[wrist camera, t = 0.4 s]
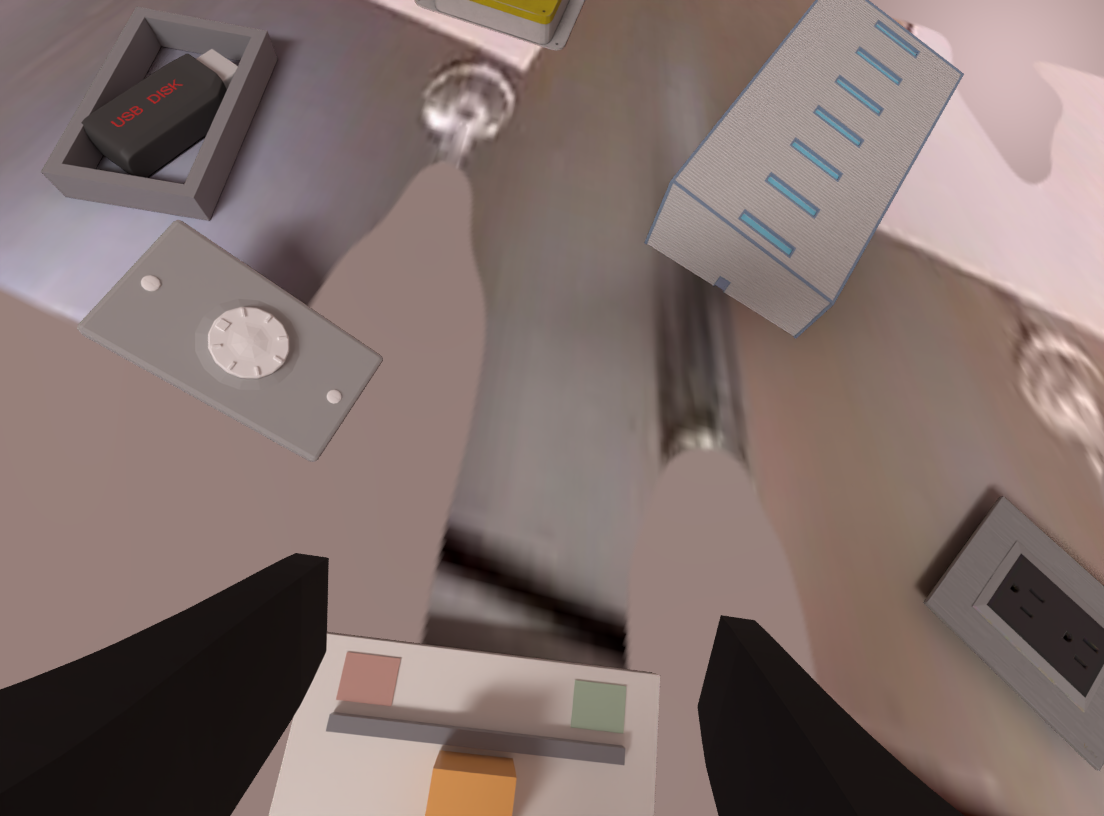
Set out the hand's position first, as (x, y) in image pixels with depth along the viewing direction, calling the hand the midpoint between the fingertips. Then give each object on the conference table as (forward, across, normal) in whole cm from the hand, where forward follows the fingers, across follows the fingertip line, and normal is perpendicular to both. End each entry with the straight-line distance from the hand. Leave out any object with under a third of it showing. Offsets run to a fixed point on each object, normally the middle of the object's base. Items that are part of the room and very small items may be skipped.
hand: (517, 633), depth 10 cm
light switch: (+29, +20, +4) cm, 35 cm away
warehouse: (+47, -18, -15) cm, 53 cm away
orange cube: (+14, +2, +22) cm, 26 cm away
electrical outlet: (+26, -34, +14) cm, 45 cm away
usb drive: (+40, +33, -12) cm, 53 cm away
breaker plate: (+16, +2, +23) cm, 28 cm away
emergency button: (+55, +11, -28) cm, 63 cm away
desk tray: (+40, +33, -12) cm, 53 cm away
